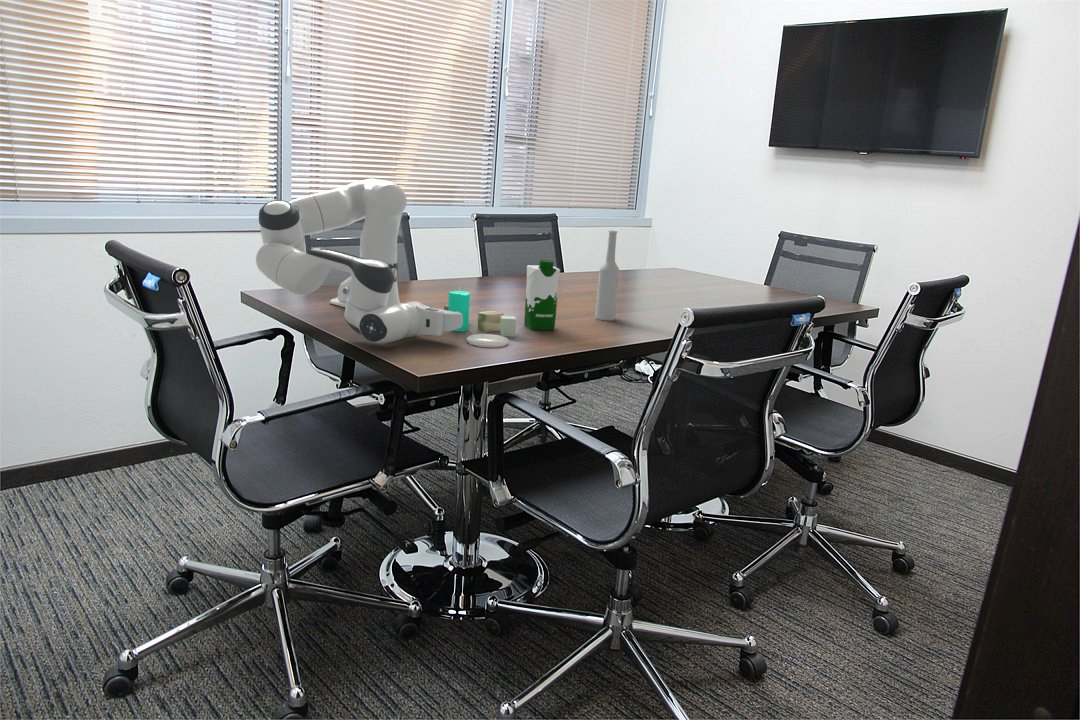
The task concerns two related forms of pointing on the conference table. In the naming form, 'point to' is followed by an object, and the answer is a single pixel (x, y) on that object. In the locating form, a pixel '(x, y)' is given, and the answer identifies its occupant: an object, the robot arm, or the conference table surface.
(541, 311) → the milk carton
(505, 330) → the sage block
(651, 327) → the conference table surface
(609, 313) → the bottle
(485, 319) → the maple block
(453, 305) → the candle
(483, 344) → the coaster
